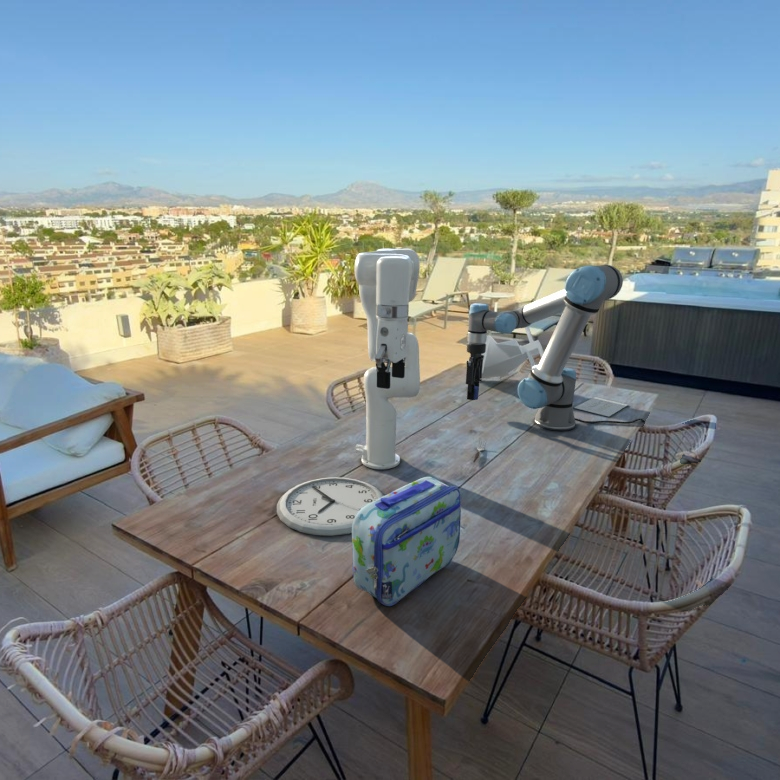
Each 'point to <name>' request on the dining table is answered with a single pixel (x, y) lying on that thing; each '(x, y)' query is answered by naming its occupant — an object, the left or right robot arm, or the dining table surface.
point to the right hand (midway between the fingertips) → (472, 397)
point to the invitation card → (601, 406)
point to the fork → (479, 450)
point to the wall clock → (325, 505)
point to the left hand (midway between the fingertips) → (391, 382)
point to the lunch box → (405, 538)
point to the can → (476, 392)
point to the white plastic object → (508, 355)
